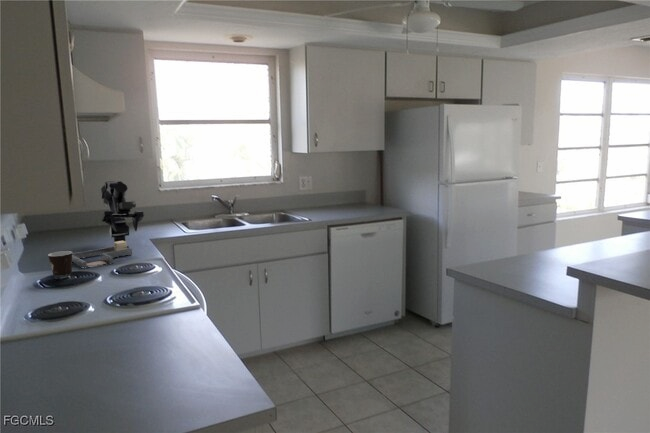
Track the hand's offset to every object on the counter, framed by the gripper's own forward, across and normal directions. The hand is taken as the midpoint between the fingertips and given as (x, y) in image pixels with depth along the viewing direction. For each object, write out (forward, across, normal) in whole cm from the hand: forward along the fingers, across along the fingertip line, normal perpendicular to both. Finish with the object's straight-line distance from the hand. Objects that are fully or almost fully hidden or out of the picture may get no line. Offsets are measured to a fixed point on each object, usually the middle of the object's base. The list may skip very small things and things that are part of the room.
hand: (126, 231), depth 226 cm
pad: (+15, -15, +4) cm, 22 cm away
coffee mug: (+24, -32, -4) cm, 40 cm away
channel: (+10, -9, +9) cm, 16 cm away
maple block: (+5, 0, +13) cm, 14 cm away
